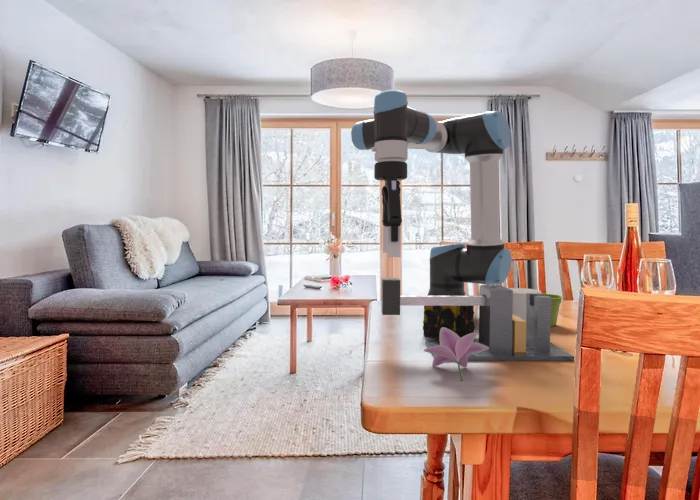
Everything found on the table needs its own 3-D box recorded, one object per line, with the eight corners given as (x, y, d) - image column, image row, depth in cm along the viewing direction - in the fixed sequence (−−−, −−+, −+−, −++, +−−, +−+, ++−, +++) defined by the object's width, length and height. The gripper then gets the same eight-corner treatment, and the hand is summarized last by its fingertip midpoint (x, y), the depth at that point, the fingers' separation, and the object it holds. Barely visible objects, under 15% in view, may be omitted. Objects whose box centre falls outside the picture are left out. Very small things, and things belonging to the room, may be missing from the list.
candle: (443, 329, 120) (443, 295, 120) (475, 336, 113) (476, 299, 112) (421, 336, 113) (422, 299, 112) (455, 343, 106) (455, 304, 105)
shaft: (381, 311, 101) (381, 278, 100) (492, 311, 100) (493, 278, 100) (382, 315, 97) (382, 280, 96) (498, 315, 96) (499, 280, 96)
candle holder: (544, 339, 109) (545, 293, 108) (504, 338, 111) (505, 292, 110) (535, 330, 119) (536, 288, 118) (499, 329, 121) (499, 287, 120)
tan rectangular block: (502, 342, 103) (502, 314, 102) (512, 342, 103) (513, 314, 102) (514, 352, 95) (515, 321, 94) (525, 352, 95) (526, 321, 94)
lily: (498, 379, 84) (486, 332, 88) (486, 372, 74) (473, 320, 78) (440, 389, 88) (431, 343, 93) (421, 384, 79) (413, 333, 83)
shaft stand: (425, 343, 106) (425, 283, 105) (544, 343, 106) (546, 283, 105) (436, 360, 92) (437, 292, 91) (574, 360, 92) (576, 292, 91)
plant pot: (523, 320, 132) (523, 293, 131) (553, 321, 131) (554, 293, 131) (535, 327, 122) (535, 298, 122) (568, 328, 122) (569, 298, 122)
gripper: (371, 169, 109) (372, 251, 111) (377, 153, 84) (378, 259, 86) (400, 168, 109) (401, 250, 111) (415, 153, 84) (415, 259, 86)
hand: (391, 254), depth 98 cm, fingers open, 13 cm apart
